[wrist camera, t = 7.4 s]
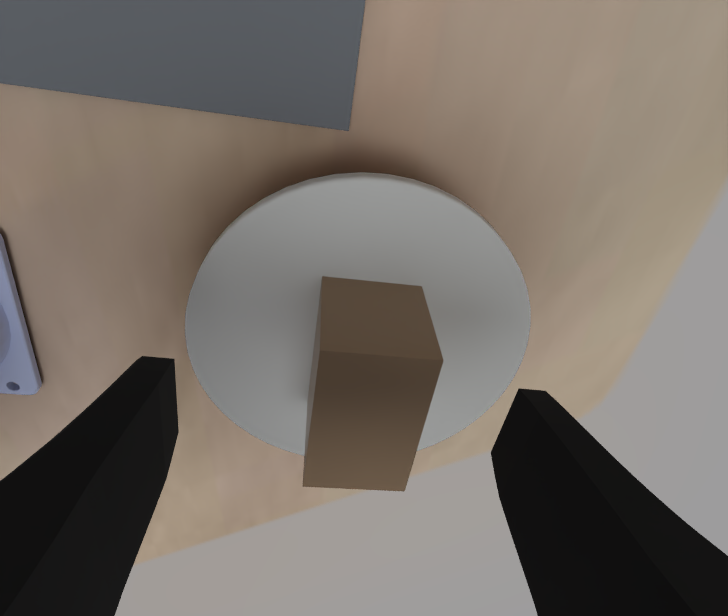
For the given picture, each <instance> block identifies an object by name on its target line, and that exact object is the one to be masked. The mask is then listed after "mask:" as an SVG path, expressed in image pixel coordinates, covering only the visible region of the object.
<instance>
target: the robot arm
mask: <svg viewBox="0 0 728 616" xmlns="http://www.w3.org/2000/svg"><path fill="white" fill-rule="evenodd" d="M13 382H15V383H17V384H15V383H13ZM41 386H42V382H41V378H40V375H39V371H38V367H37V363H36V360H35V356H34V352H33V349H32V345H31V341H30V337H29V334H28V330H27V326H26V322H25V319H24V315H23V311H22V307H21V304H20V300H19V296H18V292H17V289H16V285H15V281H14V278H13V274H12V270H11V266H10V263H9V259H8V255H7V251H6V248H5V244H4V240H3V238H2V235H1V234H0V393H6V394H21V395H33V394H35V393H37V392H38V390H39V389H40V387H41ZM177 435H178V415H177V398H176V381H175V364H174V359H169V358H157V357H146V356H142V357H140V358H139V359H138V360H136V361H135V362H134V363H133V364H132V365H131V366H130V367H129V368H128V369H127V370H126V371H125V372H124V373H123V374H122V375H121V376H120V377H119V378H118V379H117V380H116V381H115V382H114V383H113V384H112V385H111V386H110V387H109V388H108V389H107V390H105V391H104V392H103V393H102V394H101V395H100V396H99V397H98V398H97V399H96V400H95V401H94V402H93V403H92V404H91V405H90V406H88V407H87V408H86V409H85V410H84V411H83V412H82V413H81V414H80V415H78V416H77V417H76V418H75V419H74V420H73V421H72V422H71V423H70V424H68V425H67V426H66V427H65V428H64V429H63V430H62V431H61V432H60V433H58V434H57V435H56V436H55V437H54V438H53V439H51V440H50V441H49V442H48V443H47V444H45V445H44V446H43V447H42V448H40V449H39V450H38V451H37V452H36V453H34V454H33V455H32V456H31V457H30V458H28V459H27V460H26V461H25V462H23V463H22V464H21V465H20V466H19V467H17V468H16V469H15V470H14V471H12V472H11V473H10V474H9V475H7V476H6V477H5V478H3V479H2V480H1V481H0V616H114V615H115V612H116V610H117V607H118V604H119V601H120V598H121V595H122V592H123V589H124V587H125V584H126V582H127V579H128V577H129V574H130V571H131V569H132V566H133V564H134V561H135V559H136V556H137V554H138V551H139V548H140V546H141V543H142V541H143V538H144V536H145V533H146V530H147V528H148V525H149V523H150V520H151V518H152V515H153V512H154V510H155V507H156V505H157V502H158V499H159V497H160V494H161V492H162V489H163V486H164V484H165V481H166V478H167V474H168V470H169V467H170V463H171V459H172V455H173V451H174V447H175V443H176V439H177ZM491 456H492V462H493V468H494V473H495V479H496V483H497V488H498V493H499V498H500V501H501V504H502V507H503V511H504V513H505V517H506V520H507V523H508V526H509V529H510V532H511V535H512V538H513V541H514V544H515V547H516V550H517V553H518V556H519V559H520V562H521V565H522V568H523V571H524V574H525V577H526V580H527V583H528V586H529V589H530V592H531V595H532V598H533V601H534V604H535V608H536V611H537V615H538V616H728V556H727V555H726V554H725V553H723V552H722V551H721V550H720V549H718V548H717V547H716V546H714V545H713V544H712V543H711V542H709V541H708V540H707V539H706V538H704V537H703V536H702V535H700V534H699V533H698V532H697V531H695V530H694V529H693V528H692V527H691V526H690V525H688V524H687V523H686V522H685V521H683V520H682V519H681V518H680V517H679V516H678V515H676V514H675V513H674V512H673V511H672V510H671V509H670V508H668V507H667V506H666V505H665V504H664V503H663V502H662V501H661V500H659V499H658V498H657V497H656V496H655V495H654V494H653V493H651V492H650V491H649V490H648V489H647V488H646V487H645V486H644V485H643V484H642V483H641V482H639V481H638V480H637V479H636V478H635V477H634V476H633V475H632V474H631V473H630V472H629V471H628V470H627V469H626V468H624V467H623V466H622V465H621V464H620V463H619V462H618V461H617V460H616V459H615V458H614V457H613V456H612V455H611V454H610V453H609V452H608V451H607V450H606V449H605V448H604V447H603V446H602V445H601V444H600V443H599V442H598V441H597V440H596V439H595V438H594V437H593V436H592V435H590V433H589V432H588V431H587V430H585V429H584V428H583V427H582V426H581V425H580V424H579V423H578V422H577V421H576V420H575V419H574V418H573V417H572V416H571V415H570V414H569V413H568V412H567V411H566V410H565V409H564V408H563V407H562V406H561V405H560V404H559V403H558V402H557V401H556V400H555V399H554V398H553V397H552V396H550V395H549V394H548V393H547V392H546V391H541V390H529V389H518V392H517V394H516V396H515V398H514V401H513V403H512V405H511V408H510V410H509V412H508V415H507V417H506V419H505V421H504V424H503V426H502V428H501V431H500V433H499V435H498V437H497V440H496V442H495V444H494V447H493V449H492V451H491Z"/></svg>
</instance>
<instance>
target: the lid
mask: <svg viewBox="0 0 728 616" xmlns="http://www.w3.org/2000/svg"><path fill="white" fill-rule="evenodd" d="M529 331H530V303H529V296H528V290H527V287H526V284H525V281H524V278H523V275H522V272H521V270H520V268H519V266H518V264H517V263H516V261H515V259H514V257H513V255H512V253H511V252H510V250H509V249H508V247H507V246H506V244H505V243H504V241H503V240H502V239H501V237H500V236H499V235H498V233H497V232H496V231H495V229H494V228H493V227H492V226H491V225H490V224H489V223H488V222H487V221H486V220H485V219H484V218H483V217H482V216H481V215H480V214H479V213H478V212H477V211H476V210H474V209H473V208H472V207H470V206H469V205H467V204H466V203H464V202H463V201H462V200H460V199H459V198H457V197H455V196H453V195H451V194H449V193H447V192H445V191H443V190H441V189H439V188H437V187H435V186H432V185H429V184H427V183H424V182H421V181H418V180H415V179H411V178H406V177H401V176H396V175H391V174H383V173H367V172H357V173H342V174H333V175H328V176H322V177H317V178H312V179H308V180H306V181H303V182H300V183H297V184H294V185H291V186H288V187H285V188H283V189H281V190H279V191H277V192H275V193H273V194H271V195H269V196H267V197H265V198H263V199H262V200H260V201H259V202H257V203H256V204H254V205H253V206H251V207H250V208H248V209H247V210H245V211H244V212H243V213H242V214H241V215H240V216H238V217H237V218H236V219H235V220H234V221H233V222H232V223H231V224H230V225H229V226H228V227H227V228H226V229H225V230H224V231H223V232H222V234H221V235H220V236H219V237H218V239H217V240H216V241H215V242H214V244H213V245H212V247H211V248H210V250H209V252H208V254H207V255H206V257H205V259H204V261H203V262H202V265H201V267H200V269H199V271H198V273H197V276H196V278H195V281H194V283H193V286H192V289H191V291H190V294H189V298H188V303H187V308H186V314H185V337H186V344H187V351H188V355H189V358H190V361H191V364H192V367H193V370H194V372H195V374H196V376H197V378H198V380H199V382H200V384H201V386H202V387H203V389H204V390H205V392H206V393H207V395H208V396H209V398H210V399H211V400H212V401H213V402H214V404H215V405H216V406H217V407H218V408H219V409H220V410H221V411H222V412H223V413H224V414H225V415H226V416H227V417H228V418H229V419H231V420H232V421H233V422H234V423H235V424H236V425H238V426H239V427H241V428H242V429H244V430H245V431H247V432H248V433H250V434H251V435H253V436H255V437H257V438H259V439H260V440H262V441H264V442H266V443H268V444H271V445H273V446H276V447H278V448H281V449H283V450H286V451H289V452H293V453H296V454H299V455H303V456H304V472H303V487H324V488H345V489H366V490H388V491H405V488H406V485H407V481H408V478H409V475H410V471H411V468H412V465H413V461H414V458H415V455H416V451H418V450H421V449H424V448H427V447H429V446H432V445H434V444H436V443H439V442H441V441H443V440H445V439H447V438H449V437H451V436H452V435H454V434H456V433H458V432H459V431H461V430H463V429H464V428H466V427H467V426H468V425H470V424H471V423H472V422H474V421H475V420H477V419H478V418H479V417H480V416H481V415H482V414H484V413H485V412H486V411H487V410H488V409H489V408H490V407H491V406H492V405H493V404H494V403H495V402H496V401H497V400H498V398H499V397H500V396H501V395H502V394H503V393H504V391H505V390H506V388H507V387H508V385H509V384H510V382H511V381H512V379H513V378H514V376H515V374H516V372H517V370H518V368H519V366H520V364H521V362H522V359H523V356H524V353H525V350H526V347H527V344H528V337H529Z"/></svg>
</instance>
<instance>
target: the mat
mask: <svg viewBox="0 0 728 616" xmlns="http://www.w3.org/2000/svg"><path fill="white" fill-rule="evenodd" d="M364 6H365V0H0V83H3V84H10V85H18V86H25V87H32V88H39V89H47V90H54V91H61V92H68V93H76V94H83V95H90V96H97V97H105V98H112V99H119V100H126V101H134V102H141V103H148V104H156V105H163V106H170V107H177V108H185V109H192V110H199V111H206V112H214V113H221V114H228V115H235V116H243V117H250V118H257V119H264V120H272V121H279V122H286V123H293V124H301V125H308V126H315V127H322V128H330V129H337V130H344V131H349V125H350V117H351V109H352V101H353V93H354V85H355V77H356V69H357V61H358V54H359V46H360V38H361V30H362V22H363V14H364Z"/></svg>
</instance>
